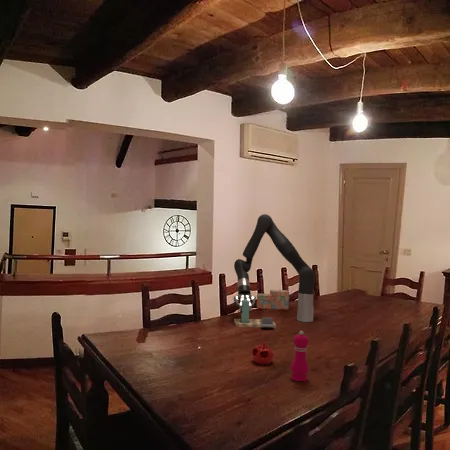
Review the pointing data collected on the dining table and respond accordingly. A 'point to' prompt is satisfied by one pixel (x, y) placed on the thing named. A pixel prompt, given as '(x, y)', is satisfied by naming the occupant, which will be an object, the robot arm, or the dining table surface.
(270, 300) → the stack of blocks
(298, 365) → the pepper mill
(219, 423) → the dining table surface
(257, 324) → the puzzle board
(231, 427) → the dining table surface
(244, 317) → the peg
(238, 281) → the robot arm
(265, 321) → the lid
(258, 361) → the pomegranate
